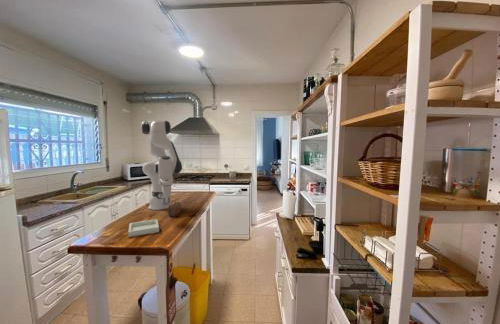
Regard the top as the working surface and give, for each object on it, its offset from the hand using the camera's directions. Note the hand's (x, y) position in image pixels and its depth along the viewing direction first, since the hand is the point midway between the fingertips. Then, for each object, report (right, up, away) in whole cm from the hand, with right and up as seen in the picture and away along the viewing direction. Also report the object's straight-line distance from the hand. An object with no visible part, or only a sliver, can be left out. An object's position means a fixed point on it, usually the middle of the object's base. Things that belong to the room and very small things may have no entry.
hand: (166, 201), depth 147 cm
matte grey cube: (0, -2, 0) cm, 2 cm away
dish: (-9, -15, -13) cm, 22 cm away
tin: (0, -13, +18) cm, 23 cm away
